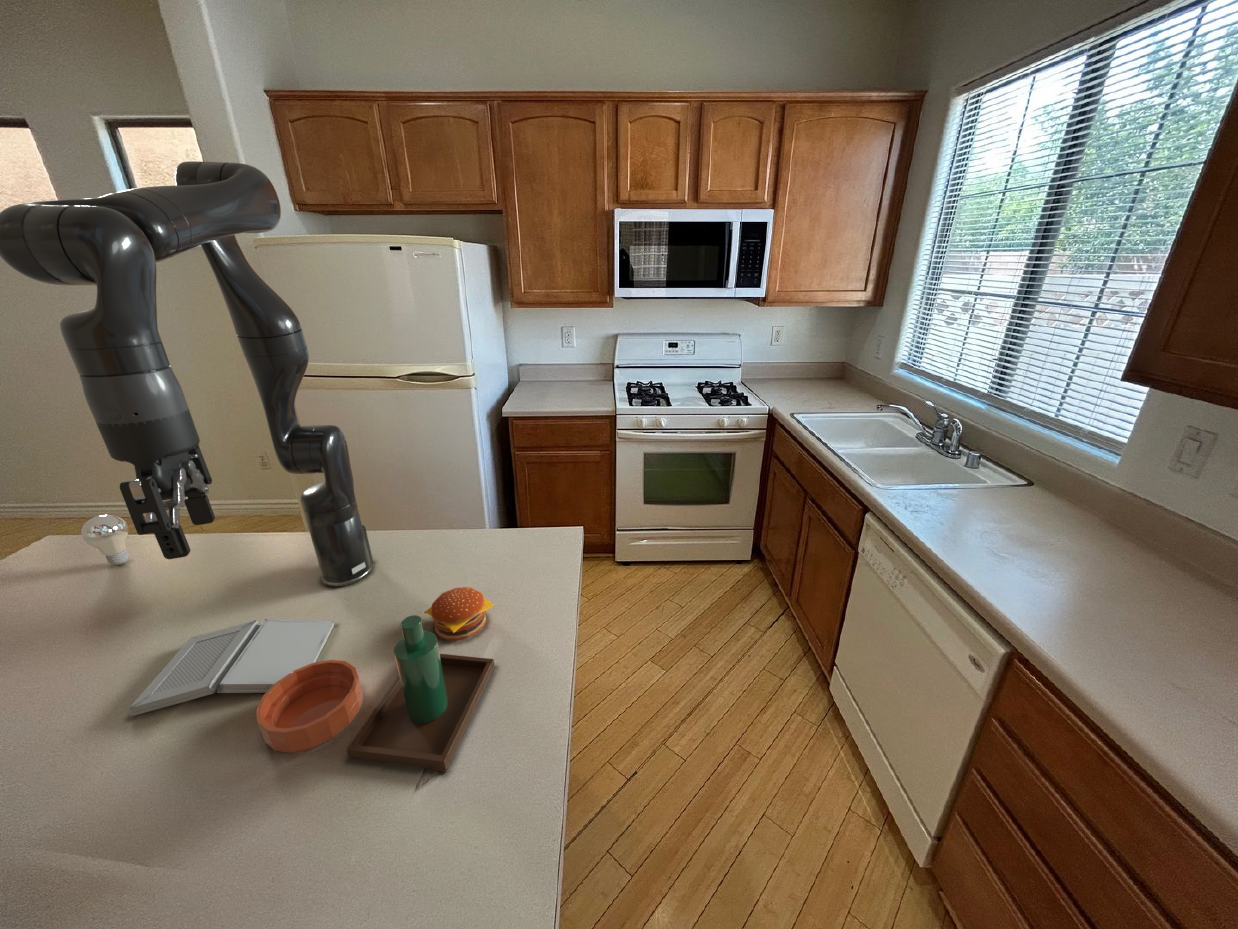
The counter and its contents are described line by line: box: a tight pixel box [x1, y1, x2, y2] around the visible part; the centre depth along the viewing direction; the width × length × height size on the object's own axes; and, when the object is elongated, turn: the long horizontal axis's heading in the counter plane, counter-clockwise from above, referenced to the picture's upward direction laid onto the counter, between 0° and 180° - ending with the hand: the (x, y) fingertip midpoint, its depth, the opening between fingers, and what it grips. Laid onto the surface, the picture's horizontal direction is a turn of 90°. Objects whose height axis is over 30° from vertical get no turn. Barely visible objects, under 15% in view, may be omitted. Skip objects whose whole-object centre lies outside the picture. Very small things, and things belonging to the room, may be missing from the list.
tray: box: [346, 653, 496, 773], centre depth 70 cm, size 18×14×2 cm
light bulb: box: [80, 514, 130, 566], centre depth 102 cm, size 7×7×12 cm
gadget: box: [128, 618, 335, 717], centre depth 77 cm, size 23×15×4 cm, turn 102°
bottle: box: [393, 614, 448, 724], centre depth 67 cm, size 6×6×16 cm
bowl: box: [255, 659, 365, 754], centre depth 69 cm, size 12×12×4 cm
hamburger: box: [423, 586, 495, 641], centre depth 86 cm, size 9×10×7 cm
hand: (192, 538), depth 58 cm, fingers open, 8 cm apart
